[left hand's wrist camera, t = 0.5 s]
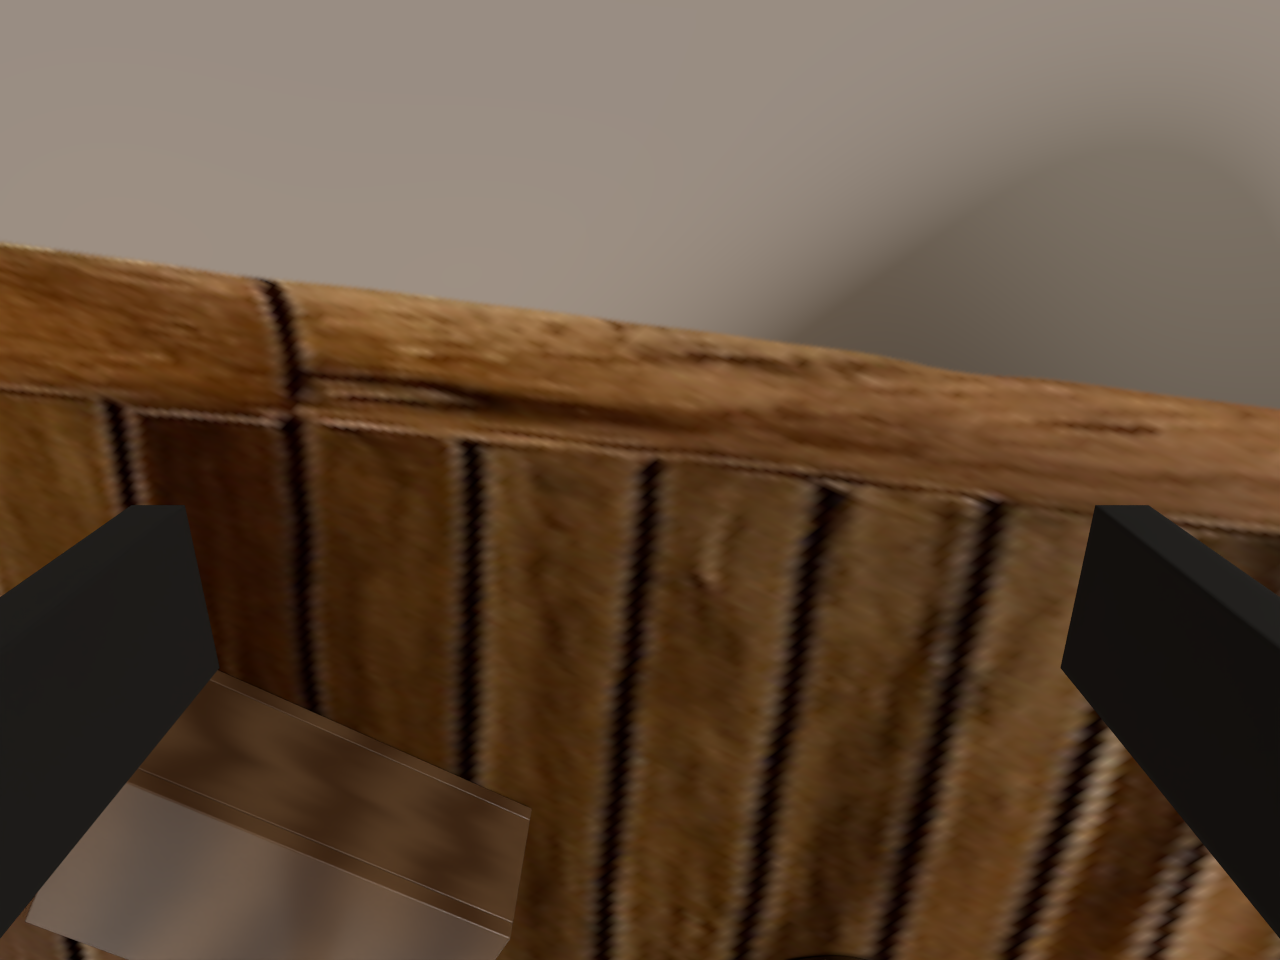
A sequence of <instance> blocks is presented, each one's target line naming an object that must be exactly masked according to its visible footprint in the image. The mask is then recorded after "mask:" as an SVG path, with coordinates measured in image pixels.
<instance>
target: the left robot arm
mask: <svg viewBox="0 0 1280 960" xmlns="http://www.w3.org/2000/svg"><path fill="white" fill-rule="evenodd" d="M218 669H219V664H218V659H217V654H216V650H215V645H214V640H213V635H212V631H211V626H210V621H209V617H208V612H207V607H206V603H205V598H204V593H203V589H202V584H201V579H200V575H199V570H198V565H197V561H196V556H195V551H194V547H193V542H192V537H191V533H190V528H189V523H188V519H187V514H186V509H185V505H131V506H130V507H128V508H127V509H126V510H124V511H123V512H121V513H120V514H118V515H117V516H116V517H114V518H113V519H111V520H110V521H108V522H107V523H106V524H104V525H103V526H101V527H100V528H98V529H97V530H96V531H94V532H93V533H91V534H90V535H88V536H87V537H86V538H84V539H83V540H81V541H80V542H78V543H77V544H76V545H74V546H73V547H71V548H70V549H68V550H67V551H66V552H64V553H63V554H61V555H60V556H58V557H57V558H56V559H54V560H53V561H51V562H50V563H48V564H47V565H46V566H44V567H43V568H41V569H40V570H38V571H37V572H36V573H34V574H33V575H31V576H30V577H28V578H27V579H26V580H24V581H23V582H21V583H20V584H19V585H17V586H16V587H14V588H13V589H11V590H10V591H9V592H7V593H6V594H4V595H3V596H1V597H0V938H1V937H2V935H3V934H4V933H5V932H6V931H7V929H8V928H9V927H10V926H11V924H12V923H13V922H14V921H15V919H16V918H17V917H18V916H19V915H20V913H21V912H22V911H23V910H24V908H25V907H26V906H27V905H28V903H29V902H30V901H31V900H32V898H33V897H34V896H35V895H36V894H37V892H38V891H39V890H40V889H41V887H42V886H43V885H44V884H45V882H46V881H47V880H48V879H49V878H50V876H51V875H52V874H53V873H54V871H55V870H56V869H57V868H58V866H59V865H60V864H61V863H62V861H63V860H64V859H65V858H66V857H67V855H68V854H69V853H70V852H71V850H72V849H73V848H74V847H75V845H76V844H77V843H78V842H79V841H80V839H81V838H82V837H83V836H84V834H85V833H86V832H87V831H88V829H89V828H90V827H91V826H92V824H93V823H94V822H95V821H96V820H97V818H98V817H99V816H100V815H101V813H102V812H103V811H104V810H105V808H106V807H107V806H108V805H109V804H110V802H111V801H112V800H113V799H114V797H115V796H116V795H117V794H118V792H119V791H120V790H121V789H122V787H123V786H124V785H125V784H126V783H127V781H128V780H129V779H130V778H131V776H132V775H133V774H134V773H135V771H136V770H137V769H138V768H139V767H140V765H141V764H142V763H143V762H144V760H145V759H146V758H147V757H148V755H149V754H150V753H151V752H152V750H153V749H154V748H155V747H156V746H157V744H158V743H159V742H160V741H161V739H162V738H163V737H164V736H165V734H166V733H167V732H168V731H169V730H170V728H171V727H172V726H173V725H174V723H175V722H176V721H177V720H178V718H179V717H180V716H181V715H182V713H183V712H184V711H185V710H186V709H187V707H188V706H189V705H190V704H191V702H192V701H193V700H194V699H195V697H196V696H197V695H198V694H199V693H200V691H201V690H202V689H203V688H204V686H205V685H206V684H207V683H208V681H209V680H210V679H211V678H212V676H213V675H214V674H215V673H216V672H217V670H218ZM1061 669H1062V670H1063V672H1064V673H1065V674H1066V675H1067V676H1068V678H1069V679H1070V680H1071V681H1072V683H1073V684H1074V685H1075V686H1076V688H1077V689H1078V690H1079V691H1080V693H1081V694H1082V695H1083V696H1084V697H1085V699H1086V700H1087V701H1088V702H1089V704H1090V705H1091V706H1092V707H1093V709H1094V710H1095V711H1096V712H1097V713H1098V715H1099V716H1100V717H1101V718H1102V720H1103V721H1104V722H1105V723H1106V725H1107V726H1108V727H1109V728H1110V730H1111V731H1112V732H1113V733H1114V734H1115V736H1116V737H1117V738H1118V739H1119V741H1120V742H1121V743H1122V744H1123V746H1124V747H1125V748H1126V749H1127V750H1128V752H1129V753H1130V754H1131V755H1132V757H1133V758H1134V759H1135V760H1136V762H1137V763H1138V764H1139V765H1140V767H1141V768H1142V769H1143V770H1144V771H1145V773H1146V774H1147V775H1148V776H1149V778H1150V779H1151V780H1152V781H1153V783H1154V784H1155V785H1156V786H1157V787H1158V789H1159V790H1160V791H1161V792H1162V794H1163V795H1164V796H1165V797H1166V799H1167V800H1168V801H1169V802H1170V804H1171V805H1172V806H1173V807H1174V808H1175V810H1176V811H1177V812H1178V813H1179V815H1180V816H1181V817H1182V818H1183V820H1184V821H1185V822H1186V823H1187V824H1188V826H1189V827H1190V828H1191V829H1192V831H1193V832H1194V833H1195V834H1196V836H1197V837H1198V838H1199V839H1200V841H1201V842H1202V843H1203V844H1204V845H1205V847H1206V848H1207V849H1208V850H1209V852H1210V853H1211V854H1212V855H1213V857H1214V858H1215V859H1216V860H1217V861H1218V863H1219V864H1220V865H1221V866H1222V868H1223V869H1224V870H1225V871H1226V873H1227V874H1228V875H1229V876H1230V878H1231V879H1232V880H1233V881H1234V882H1235V884H1236V885H1237V886H1238V887H1239V889H1240V890H1241V891H1242V892H1243V894H1244V895H1245V896H1246V897H1247V898H1248V900H1249V901H1250V902H1251V903H1252V905H1253V906H1254V907H1255V908H1256V910H1257V911H1258V912H1259V913H1260V915H1261V916H1262V917H1263V918H1264V919H1265V921H1266V922H1267V923H1268V924H1269V926H1270V927H1271V928H1272V929H1273V931H1274V932H1275V933H1276V934H1277V935H1278V937H1279V938H1280V597H1279V596H1277V595H1276V594H1274V593H1273V592H1271V591H1270V590H1269V589H1267V588H1266V587H1264V586H1263V585H1261V584H1260V583H1259V582H1257V581H1256V580H1254V579H1253V578H1252V577H1250V576H1249V575H1247V574H1246V573H1244V572H1243V571H1242V570H1240V569H1239V568H1237V567H1236V566H1234V565H1233V564H1232V563H1230V562H1229V561H1227V560H1226V559H1224V558H1223V557H1222V556H1220V555H1219V554H1217V553H1216V552H1214V551H1213V550H1212V549H1210V548H1209V547H1207V546H1206V545H1204V544H1203V543H1202V542H1200V541H1199V540H1197V539H1196V538H1194V537H1193V536H1192V535H1190V534H1189V533H1187V532H1186V531H1184V530H1183V529H1182V528H1180V527H1179V526H1177V525H1176V524H1174V523H1173V522H1172V521H1170V520H1169V519H1167V518H1166V517H1164V516H1163V515H1162V514H1160V513H1159V512H1157V511H1156V510H1154V509H1153V508H1152V507H1150V506H1149V505H1095V509H1094V514H1093V519H1092V523H1091V528H1090V533H1089V537H1088V542H1087V547H1086V551H1085V556H1084V561H1083V565H1082V570H1081V575H1080V579H1079V584H1078V589H1077V593H1076V598H1075V603H1074V607H1073V612H1072V617H1071V621H1070V626H1069V631H1068V635H1067V640H1066V645H1065V650H1064V654H1063V659H1062V664H1061ZM799 960H866V959H861V958H854V957H843V956H822V957H812V958H805V959H799Z"/></svg>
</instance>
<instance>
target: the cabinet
mask: <svg viewBox="0 0 1280 960" xmlns="http://www.w3.org/2000/svg"><path fill="white" fill-rule="evenodd" d="M531 810H532V809H531V808H529V807H527V806H524V805H522V804H520V803H518V802H515V801H513V800H511V799H509V798H506V797H504V796H502V795H499V794H497V793H495V792H493V791H490V790H488V789H486V788H484V787H481V786H479V785H477V784H475V783H472V782H470V781H468V780H465V779H463V778H461V777H459V776H456V775H454V774H452V773H450V772H447V771H445V770H443V769H441V768H438V767H436V766H434V765H431V764H429V763H427V762H425V761H422V760H420V759H418V758H416V757H413V756H411V755H409V754H407V753H404V752H402V751H400V750H397V749H395V748H393V747H391V746H388V745H386V744H384V743H382V742H379V741H377V740H375V739H373V738H370V737H368V736H366V735H363V734H361V733H359V732H357V731H354V730H352V729H350V728H348V727H345V726H343V725H341V724H339V723H336V722H334V721H332V720H330V719H327V718H325V717H323V716H320V715H318V714H316V713H314V712H311V711H309V710H307V709H305V708H302V707H300V706H298V705H296V704H293V703H291V702H289V701H286V700H284V699H282V698H280V697H277V696H275V695H273V694H271V693H268V692H266V691H264V690H262V689H259V688H257V687H255V686H252V685H250V684H248V683H246V682H243V681H241V680H239V679H237V678H234V677H232V676H230V675H228V674H225V673H223V672H221V671H218V670H217V672H216V673H215V674H214V675H213V676H212V678H211V679H210V680H209V681H208V683H207V684H206V685H205V686H204V688H203V689H202V690H201V691H200V693H199V694H198V695H197V696H196V697H195V699H194V700H193V701H192V702H191V704H190V705H189V706H188V707H187V709H186V710H185V711H184V712H183V713H182V715H181V716H180V717H179V718H178V720H177V721H176V722H175V723H174V725H173V726H172V727H171V728H170V730H169V731H168V732H167V733H166V734H165V736H164V737H163V738H162V739H161V741H160V742H159V743H158V744H157V746H156V747H155V748H154V749H153V750H152V752H151V753H150V754H149V755H148V757H147V758H146V759H145V760H144V762H143V763H142V764H141V765H140V767H139V768H138V769H137V770H136V771H135V773H134V774H133V775H132V776H131V778H130V779H129V780H128V781H127V783H126V784H125V785H124V786H123V787H122V789H121V790H120V791H119V792H118V794H117V795H116V796H115V797H114V799H113V800H112V801H111V802H110V804H109V805H108V806H107V807H106V808H105V810H104V811H103V812H102V813H101V815H100V816H99V817H98V818H97V820H96V821H95V822H94V823H93V824H92V826H91V827H90V828H89V829H88V831H87V832H86V833H85V834H84V836H83V837H82V838H81V839H80V841H79V842H78V843H77V844H76V845H75V847H74V848H73V849H72V850H71V852H70V853H69V854H68V855H67V857H66V858H65V859H64V860H63V861H62V863H61V864H60V865H59V866H58V868H57V869H56V870H55V871H54V873H53V874H52V875H51V876H50V878H49V879H48V880H47V881H46V882H45V884H44V885H43V886H42V887H41V889H40V890H39V891H38V892H37V894H36V895H35V898H34V900H33V902H32V905H31V907H30V910H29V912H28V914H27V917H26V919H25V922H27V923H30V924H33V925H35V926H38V927H41V928H44V929H46V930H49V931H52V932H54V933H57V934H60V935H63V936H65V937H68V938H71V939H73V940H76V941H79V942H82V943H84V944H87V945H90V946H92V947H95V948H98V949H101V950H103V951H106V952H109V953H111V954H114V955H117V956H119V957H122V958H125V959H128V960H495V959H496V958H497V956H498V955H499V953H500V952H501V951H502V949H503V948H504V946H505V945H506V944H507V942H508V941H509V939H510V936H511V930H512V923H513V919H514V913H515V907H516V901H517V895H518V889H519V883H520V877H521V870H522V864H523V858H524V852H525V846H526V840H527V834H528V828H529V822H530V821H529V820H530V816H531Z"/></svg>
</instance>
